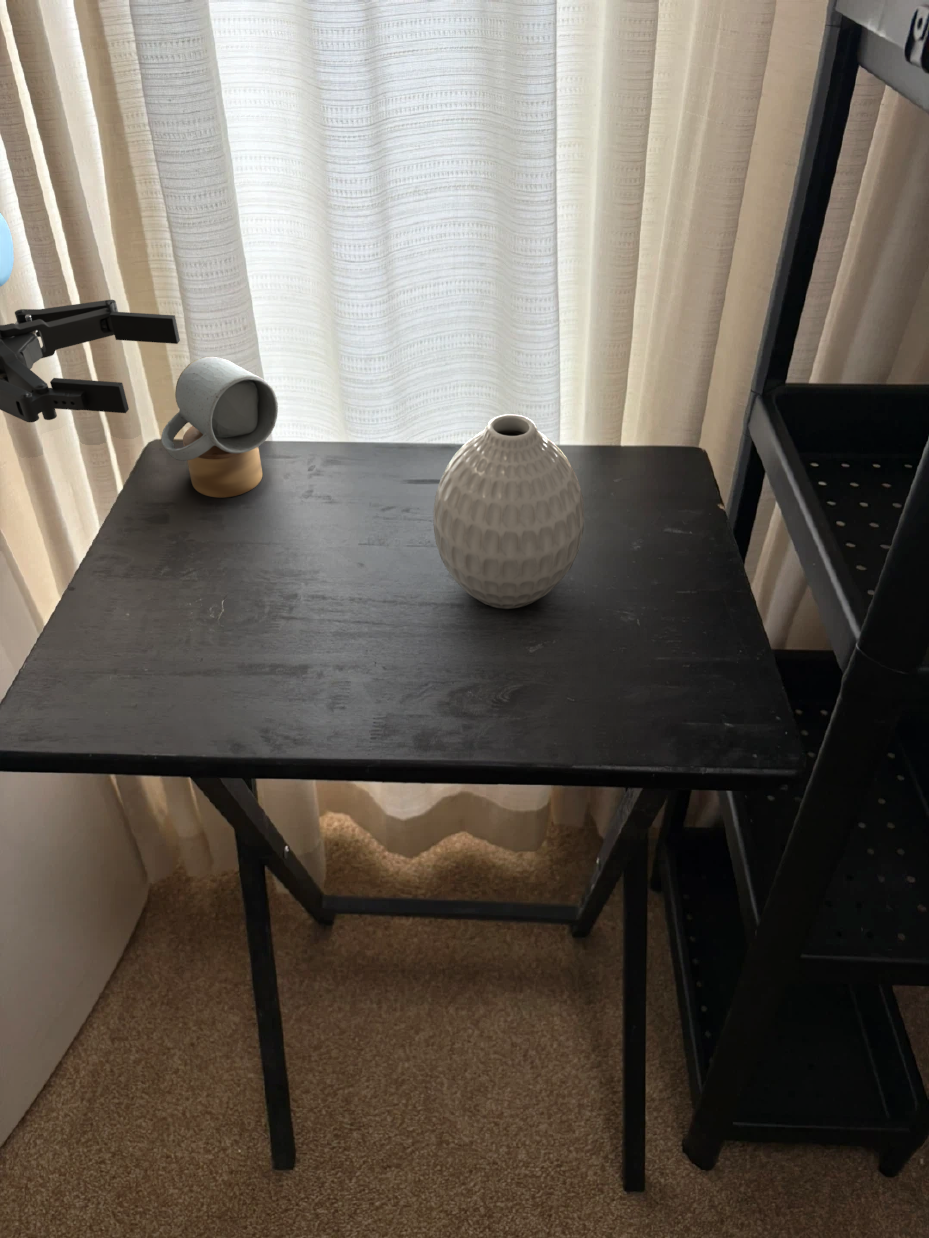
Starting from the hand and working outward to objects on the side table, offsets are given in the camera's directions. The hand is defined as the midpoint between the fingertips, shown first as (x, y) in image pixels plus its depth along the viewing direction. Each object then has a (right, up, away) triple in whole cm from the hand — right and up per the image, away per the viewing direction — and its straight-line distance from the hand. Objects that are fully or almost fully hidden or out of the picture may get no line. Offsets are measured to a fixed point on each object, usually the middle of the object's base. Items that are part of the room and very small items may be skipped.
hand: (151, 362), depth 98 cm
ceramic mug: (+6, -7, +4) cm, 10 cm away
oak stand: (+5, -10, +8) cm, 14 cm away
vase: (+34, -22, -5) cm, 40 cm away
